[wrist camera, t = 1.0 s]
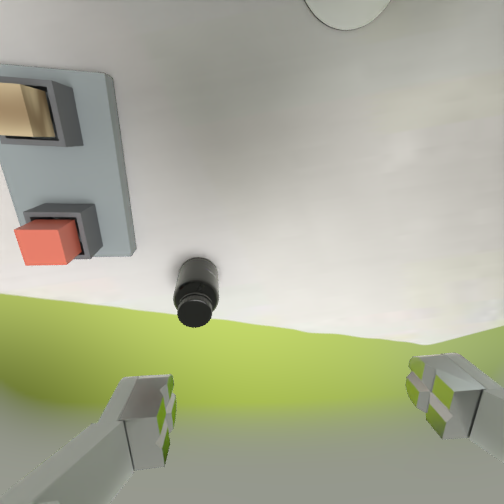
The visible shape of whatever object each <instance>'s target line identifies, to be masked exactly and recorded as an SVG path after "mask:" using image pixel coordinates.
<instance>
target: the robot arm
mask: <svg viewBox="0 0 504 504" xmlns="http://www.w3.org/2000/svg"><path fill="white" fill-rule="evenodd" d="M305 1H306V3H307V5H308V6H309V8H310V9H311V11H312V12H313V13H314V14H315V16H316V17H317V18H318V19H320V20H321V21H322V22H323V23H325V24H326V25H328V26H330V27H333V28H336V29H340V30H352V29H357V28H360V27H362V26H364V25H366V24H368V23H370V22H371V21H373V20H374V19H375V18H376V17H377V16H378V15H379V14H380V13H381V12H382V11H383V10H384V9H385V8H386V6H387V5H388V4H389V2H390V1H391V0H305ZM409 368H410V369H411V371H412V372H411V373H410V374H409V375H408V376H407V377H406V390H407V394H408V396H409V398H410V400H411V401H412V403H413V404H414V405H415V406H416V408H418V409H420V410H421V411H423V412H425V413H426V420H427V421H428V423H429V424H430V425H431V426H432V427H433V429H434V430H435V431H436V432H437V434H438V435H439V436H440V438H441V439H458V438H469V440H471V441H472V442H474V443H475V444H476V445H478V446H479V447H481V448H482V449H484V450H485V451H486V452H488V453H489V454H491V455H492V456H494V457H495V458H496V459H498V460H499V461H501V462H502V463H504V388H503V387H502V386H500V385H499V384H498V383H497V382H495V381H494V380H493V379H491V378H490V377H489V376H487V375H486V374H484V372H482V371H481V370H480V369H478V368H477V367H476V366H474V365H473V364H472V363H470V362H469V361H468V360H467V359H465V358H464V357H463V356H461V355H460V354H457V353H446V354H440V355H426V356H414V357H412V358H411V359H410V361H409ZM173 386H174V381H173V376H172V375H171V374H169V375H149V376H135V377H124V378H123V379H121V380H120V382H119V384H118V386H117V387H116V389H115V391H114V393H113V395H112V397H111V398H110V400H109V402H108V404H107V406H106V408H105V409H104V411H103V413H102V415H101V417H100V419H99V420H98V422H97V423H92V424H90V425H89V426H88V427H87V428H85V429H84V430H83V431H82V432H80V433H79V434H78V435H77V436H75V437H74V438H73V439H71V440H70V441H69V442H68V443H66V444H65V445H64V446H63V447H61V448H60V449H59V450H58V451H56V452H55V453H54V454H53V455H51V456H50V457H49V458H48V459H46V460H45V461H44V462H42V463H41V464H40V465H39V466H37V467H36V468H35V469H34V470H32V471H31V472H30V473H29V474H27V475H26V476H25V477H24V478H22V479H21V480H20V481H19V482H17V483H16V484H15V485H14V486H12V487H11V488H10V489H8V490H7V491H6V492H5V493H3V494H2V495H1V496H0V504H110V503H111V502H112V500H113V499H114V498H115V496H116V495H117V494H118V493H119V491H120V490H121V488H123V486H124V485H125V483H126V482H127V481H128V480H129V479H130V477H131V476H132V475H133V473H134V471H135V470H143V469H150V468H157V467H165V464H166V459H167V455H168V451H169V446H170V438H169V433H170V432H171V431H172V430H173V429H174V424H175V419H176V395H175V394H174V393H172V390H173Z"/></svg>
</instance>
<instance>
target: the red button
mask: <svg viewBox="0 0 504 504" xmlns="http://www.w3.org/2000/svg"><path fill="white" fill-rule="evenodd" d="M14 232H15V235H16V238H17V241H18V244H19V247H20V250H21V253H22V256H23V259H24V262H25V265H67V264H68V263H69V262H71V261H72V260H73V259H74V258H75V257H76V256H77V255H78V254H79V253H81V252H82V250H81V245H80V241H79V237H78V232H77V228H76V224H75V220H60V219H35V220H33V221H31V222H29V223H27V224H25V225H23V226H21V227H18V228H16V229H14Z"/></svg>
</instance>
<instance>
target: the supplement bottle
mask: <svg viewBox="0 0 504 504" xmlns="http://www.w3.org/2000/svg"><path fill="white" fill-rule="evenodd" d="M173 301H174V305H175V307H176V309H177V310H178V311H177V313H178V314H177V315H178V318H179V320H180V321H181V323H183V324H184V325H186V326H189V327H195V328H196V327H200V326H203V325H205V324H206V323H208V321H209V320H210V319H211V316H212V312H213V311H214V310H215V308H216V307H217V305H218V301H219V290H218V273H217V269H216V267H215V266H214V265H213V264H212V263H211V262H210V261H208V260H206V259H202V258H194V259H191V260H189V261H187V262H186V263H184V264H183V266H182V267H181V269H180V272H179V275H178V279H177V283H176V287H175V291H174V296H173Z"/></svg>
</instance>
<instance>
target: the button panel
mask: <svg viewBox="0 0 504 504" xmlns="http://www.w3.org/2000/svg"><path fill="white" fill-rule="evenodd" d="M0 83H13V84H21V85H25V86H28V87H32V88H35V89H39V90H42V91H45V94H46V98H47V103H48V107H49V111H50V115H51V120H52V124H53V128H54V133H55V137H28V136H8V135H0V164H1V167H2V170H3V173H4V176H5V179H6V182H7V186H8V189H9V192H10V195H11V198H12V201H13V204H14V207H15V211H16V214H17V217H18V220H19V223H20V226H23V225H25V224H27V223H29V222H31V221H33V220H35V219H60V220H75V224H76V228H77V232H78V237H79V241H80V245H81V250H82V252H81V253H79V254H78V255H77V256H76V257H75V258H74V259H91V258H92V257H124V256H132V255H133V253H134V252H135V250H136V243H135V235H134V228H133V221H132V214H131V206H130V199H129V192H128V185H127V178H126V170H125V163H124V156H123V149H122V141H121V134H120V127H119V120H118V113H117V105H116V98H115V91H114V84H113V78H111V77H110V76H108V75H107V74H105V73H98V72H86V71H75V70H64V69H53V68H42V67H31V66H19V65H8V64H0Z"/></svg>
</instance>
